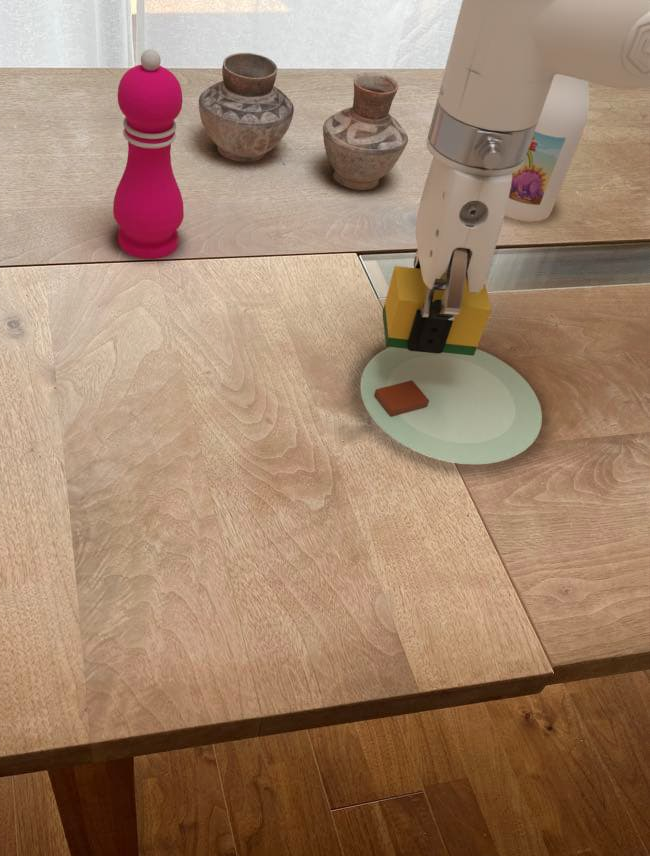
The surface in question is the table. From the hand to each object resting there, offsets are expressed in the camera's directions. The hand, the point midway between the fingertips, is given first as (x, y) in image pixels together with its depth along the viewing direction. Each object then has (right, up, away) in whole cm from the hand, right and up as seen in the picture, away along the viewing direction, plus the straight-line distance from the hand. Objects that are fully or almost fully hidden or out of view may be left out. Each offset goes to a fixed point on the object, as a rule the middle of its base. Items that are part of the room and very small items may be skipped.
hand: (421, 328), depth 80 cm
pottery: (-10, +26, +28) cm, 39 cm away
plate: (+3, -7, +3) cm, 8 cm away
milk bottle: (+17, +21, +27) cm, 38 cm away
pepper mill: (-26, +12, +15) cm, 32 cm away
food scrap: (-2, -6, +1) cm, 7 cm away
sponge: (+1, 0, +1) cm, 1 cm away
